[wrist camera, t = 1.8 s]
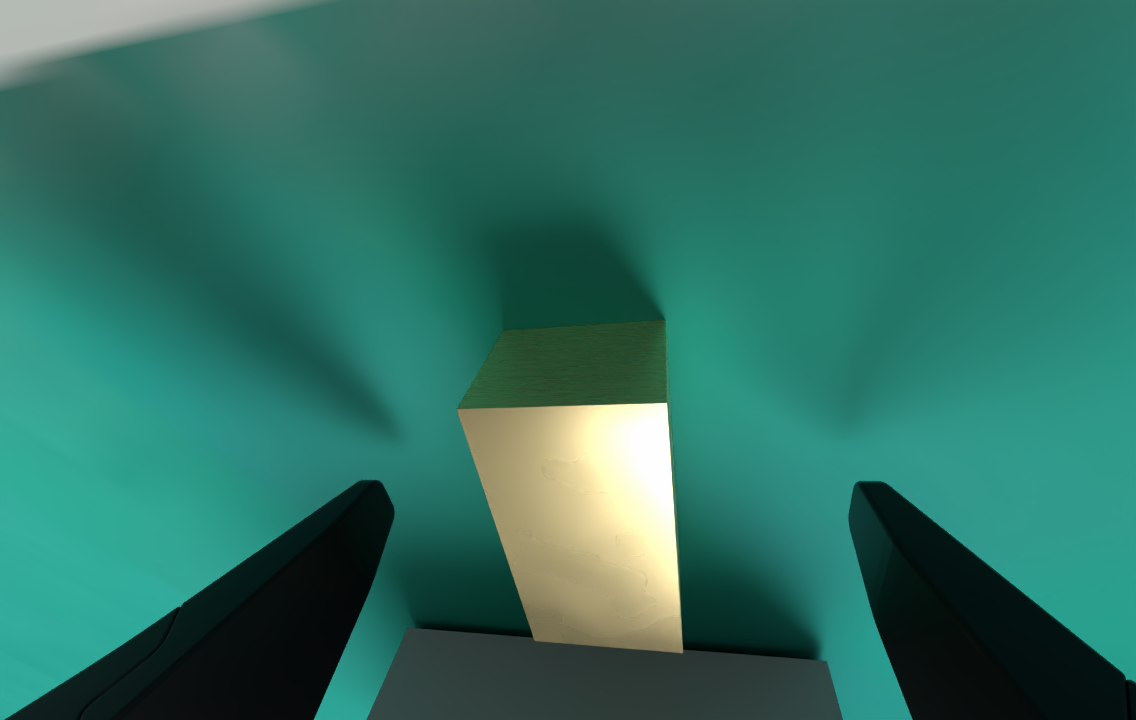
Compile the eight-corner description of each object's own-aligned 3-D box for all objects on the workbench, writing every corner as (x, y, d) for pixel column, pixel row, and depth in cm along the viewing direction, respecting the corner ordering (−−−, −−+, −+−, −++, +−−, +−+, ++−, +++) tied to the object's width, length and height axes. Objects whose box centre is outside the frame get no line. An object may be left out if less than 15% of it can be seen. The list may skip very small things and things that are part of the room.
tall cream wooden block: (665, 318, 8) (666, 403, 6) (679, 544, 11) (682, 652, 9) (503, 329, 9) (456, 409, 7) (556, 540, 12) (534, 640, 10)
